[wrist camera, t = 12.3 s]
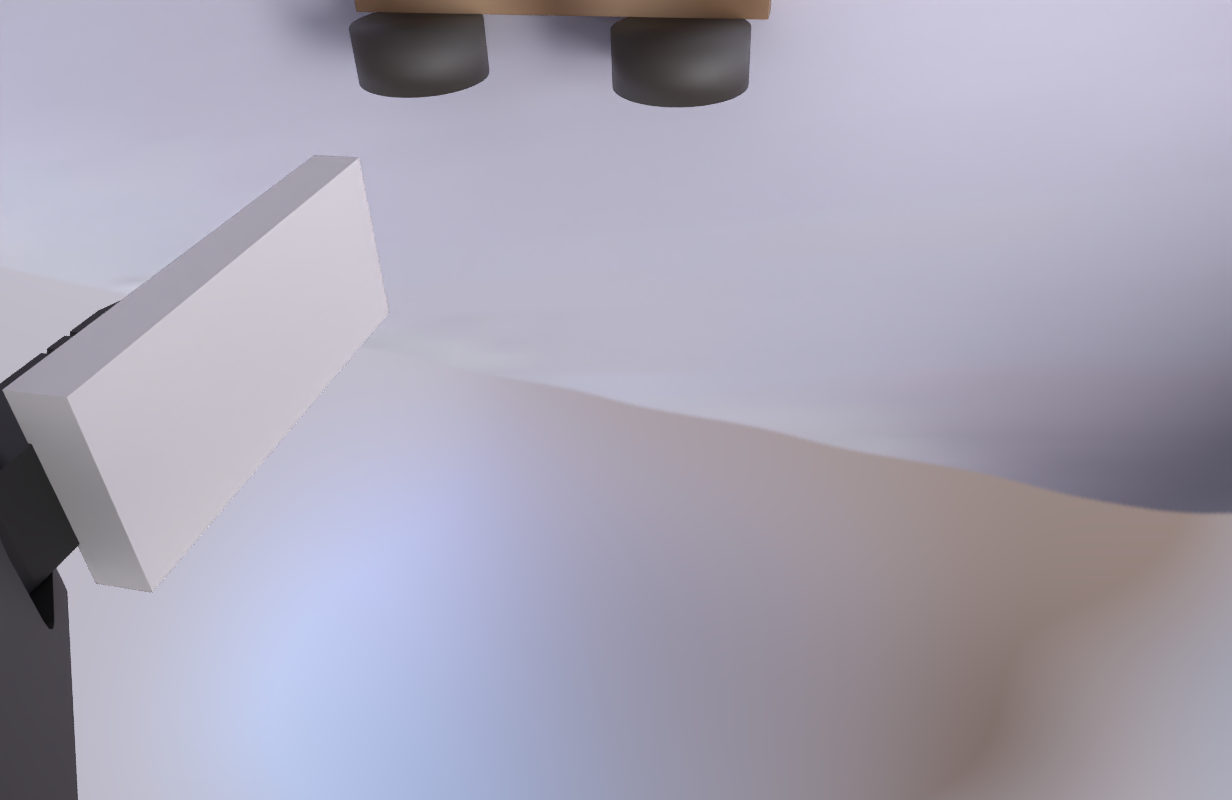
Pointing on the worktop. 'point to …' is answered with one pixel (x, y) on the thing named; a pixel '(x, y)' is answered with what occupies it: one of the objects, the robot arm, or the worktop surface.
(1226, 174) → the worktop surface
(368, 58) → the chassis
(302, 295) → the robot arm
